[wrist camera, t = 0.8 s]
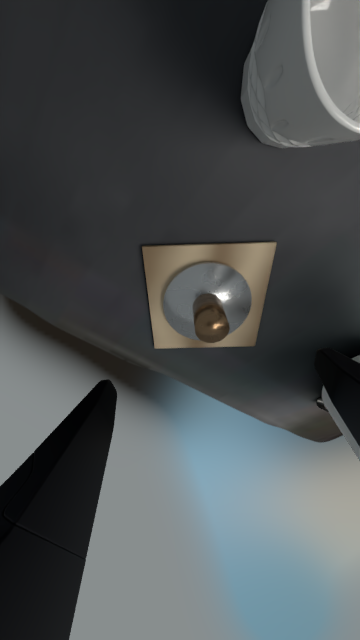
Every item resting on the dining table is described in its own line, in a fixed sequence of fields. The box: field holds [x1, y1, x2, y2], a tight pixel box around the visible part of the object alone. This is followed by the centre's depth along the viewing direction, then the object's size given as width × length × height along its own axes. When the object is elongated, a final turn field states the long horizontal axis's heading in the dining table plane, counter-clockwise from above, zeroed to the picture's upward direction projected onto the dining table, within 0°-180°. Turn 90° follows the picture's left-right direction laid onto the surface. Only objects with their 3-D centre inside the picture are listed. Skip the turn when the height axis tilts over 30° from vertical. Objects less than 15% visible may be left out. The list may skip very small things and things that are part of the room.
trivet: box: [142, 242, 277, 349], centre depth 23 cm, size 12×12×1 cm
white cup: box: [241, 0, 360, 149], centre depth 10 cm, size 8×8×10 cm
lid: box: [163, 261, 252, 343], centre depth 20 cm, size 9×9×5 cm
